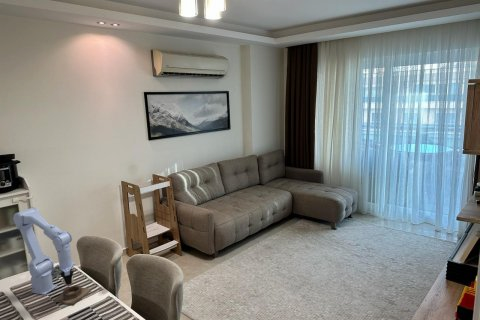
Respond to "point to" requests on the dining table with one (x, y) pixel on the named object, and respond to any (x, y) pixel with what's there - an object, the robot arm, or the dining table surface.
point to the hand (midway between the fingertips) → (68, 281)
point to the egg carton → (56, 272)
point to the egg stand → (72, 295)
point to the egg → (65, 283)
